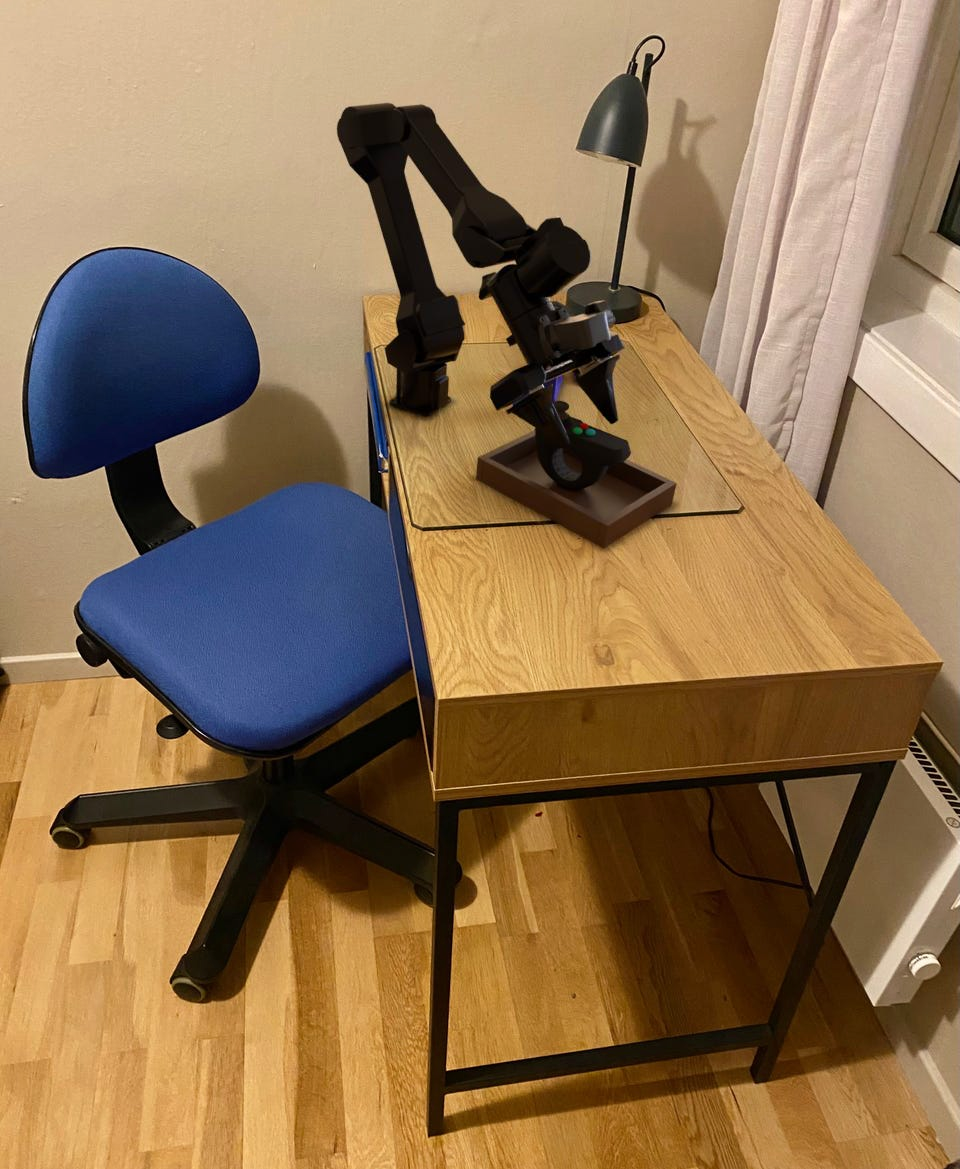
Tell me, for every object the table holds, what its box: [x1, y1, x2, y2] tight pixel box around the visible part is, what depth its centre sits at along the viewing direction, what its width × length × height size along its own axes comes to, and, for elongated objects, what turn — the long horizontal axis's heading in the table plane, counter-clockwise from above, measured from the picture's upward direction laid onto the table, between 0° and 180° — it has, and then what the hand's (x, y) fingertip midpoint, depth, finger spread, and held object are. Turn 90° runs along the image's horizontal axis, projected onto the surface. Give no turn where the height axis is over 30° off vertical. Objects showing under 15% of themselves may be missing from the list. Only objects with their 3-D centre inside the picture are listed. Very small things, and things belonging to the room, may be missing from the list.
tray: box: [475, 429, 677, 549], centre depth 117 cm, size 20×14×3 cm
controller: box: [534, 400, 632, 489], centre depth 115 cm, size 4×12×10 cm, turn 54°
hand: (591, 434), depth 112 cm, fingers open, 9 cm apart
